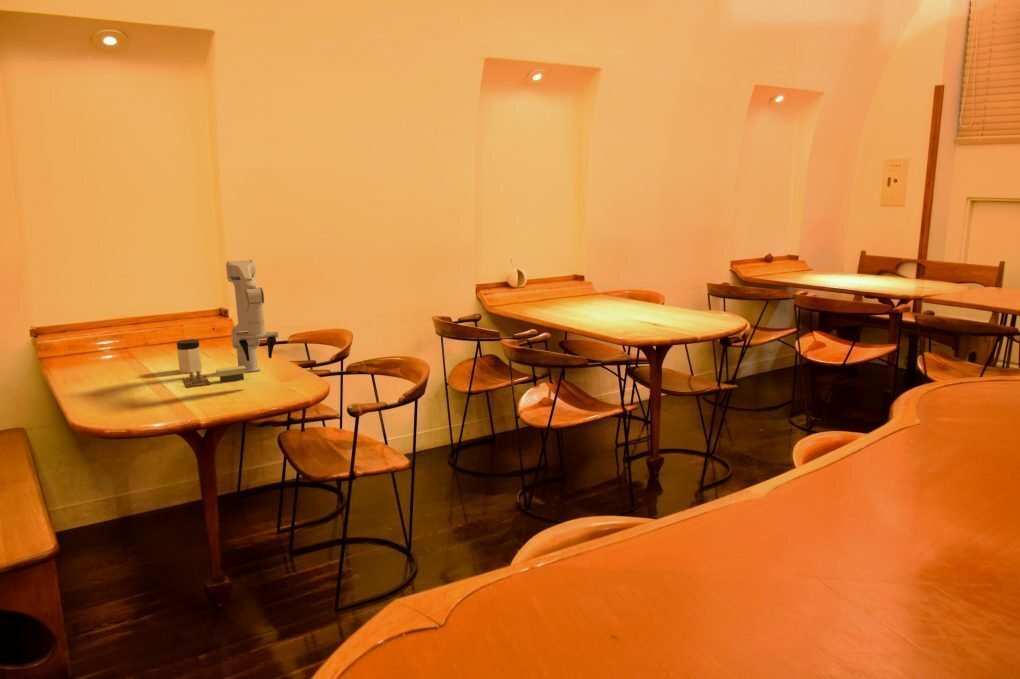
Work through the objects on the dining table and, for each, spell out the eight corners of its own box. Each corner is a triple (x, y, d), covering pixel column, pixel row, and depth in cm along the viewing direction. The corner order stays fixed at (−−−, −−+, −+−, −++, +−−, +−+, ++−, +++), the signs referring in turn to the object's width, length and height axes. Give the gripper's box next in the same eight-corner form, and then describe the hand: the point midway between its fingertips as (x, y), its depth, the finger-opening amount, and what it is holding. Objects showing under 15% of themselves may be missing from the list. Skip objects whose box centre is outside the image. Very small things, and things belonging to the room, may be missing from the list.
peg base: (183, 379, 279) (182, 370, 278) (205, 376, 282) (204, 368, 282) (186, 387, 267) (185, 378, 266) (210, 384, 270) (209, 375, 270)
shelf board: (218, 376, 272) (217, 371, 271) (216, 374, 276) (216, 369, 275) (246, 373, 276) (245, 368, 276) (244, 370, 280) (243, 365, 280)
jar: (201, 372, 290) (198, 342, 287) (179, 374, 287) (175, 344, 285) (202, 367, 298) (199, 338, 296) (180, 369, 295) (177, 340, 293)
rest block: (220, 380, 276) (219, 374, 275) (242, 377, 280) (242, 371, 279) (221, 382, 273) (220, 376, 273) (243, 379, 277) (243, 373, 277)
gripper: (236, 325, 256) (239, 363, 258) (278, 321, 262) (281, 358, 265) (233, 322, 262) (236, 359, 265) (274, 318, 269) (277, 354, 271)
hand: (259, 359), depth 265 cm, fingers open, 7 cm apart
